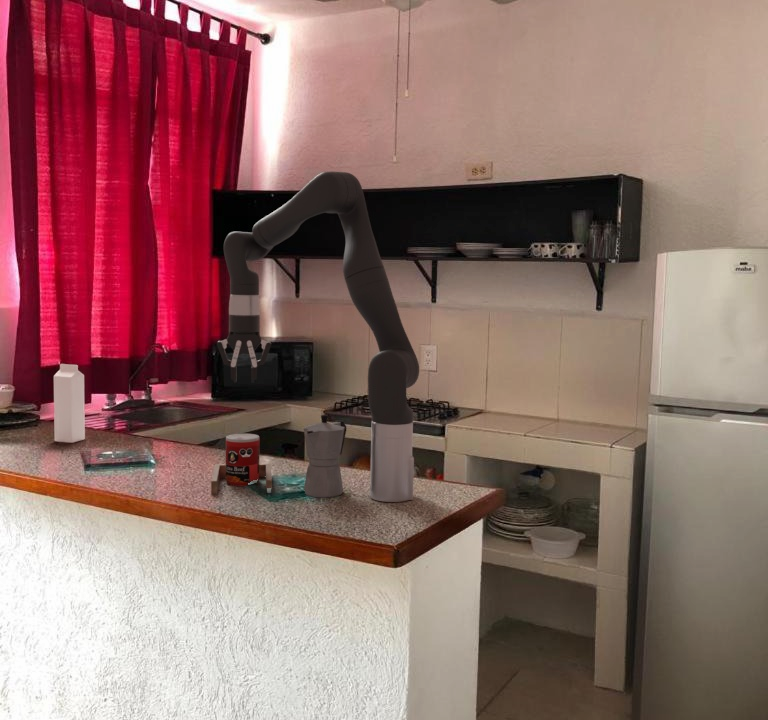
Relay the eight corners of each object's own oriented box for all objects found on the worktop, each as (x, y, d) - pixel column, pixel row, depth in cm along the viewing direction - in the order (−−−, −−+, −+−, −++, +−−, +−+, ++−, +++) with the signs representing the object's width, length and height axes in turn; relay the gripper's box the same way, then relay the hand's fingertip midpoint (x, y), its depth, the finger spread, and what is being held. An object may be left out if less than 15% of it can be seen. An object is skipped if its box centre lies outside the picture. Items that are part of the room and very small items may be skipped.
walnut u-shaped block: (270, 475, 212) (270, 463, 212) (271, 493, 195) (271, 480, 195) (214, 476, 210) (214, 464, 210) (211, 494, 193) (211, 481, 193)
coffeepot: (324, 502, 189) (325, 420, 187) (289, 495, 194) (290, 416, 192) (361, 487, 202) (362, 411, 201) (327, 482, 207) (328, 407, 205)
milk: (67, 437, 254) (66, 362, 252) (85, 439, 252) (84, 363, 250) (54, 441, 248) (53, 364, 246) (72, 443, 246) (71, 365, 244)
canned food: (218, 483, 203) (219, 437, 202) (239, 476, 210) (240, 432, 209) (245, 487, 200) (245, 440, 199) (265, 481, 207) (266, 435, 206)
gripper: (214, 313, 210) (214, 383, 212) (273, 314, 212) (272, 384, 214) (216, 312, 218) (215, 380, 219) (272, 312, 220) (272, 380, 221)
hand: (243, 381), depth 217 cm, fingers open, 3 cm apart
